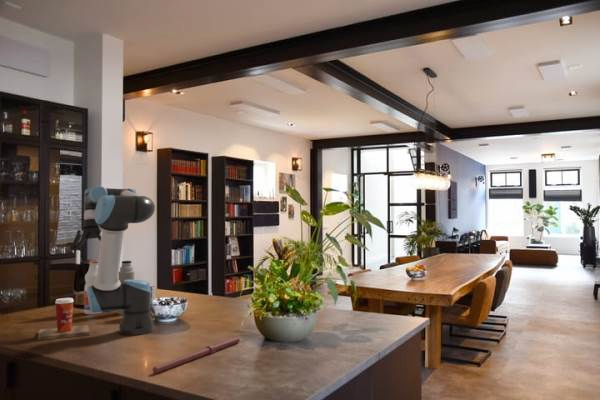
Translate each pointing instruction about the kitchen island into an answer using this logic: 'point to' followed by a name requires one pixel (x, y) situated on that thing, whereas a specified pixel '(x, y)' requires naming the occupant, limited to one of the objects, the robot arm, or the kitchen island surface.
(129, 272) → the thermos bottle
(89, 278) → the fruit juice
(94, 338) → the kitchen island surface
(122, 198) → the robot arm
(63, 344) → the kitchen island surface
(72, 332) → the walnut board
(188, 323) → the kitchen island surface
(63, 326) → the paper cup
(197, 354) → the brown thin rod
